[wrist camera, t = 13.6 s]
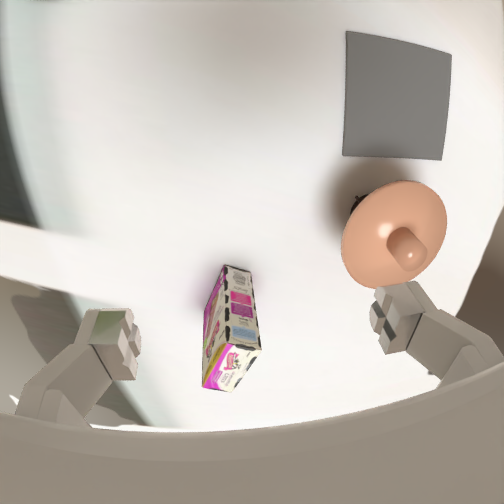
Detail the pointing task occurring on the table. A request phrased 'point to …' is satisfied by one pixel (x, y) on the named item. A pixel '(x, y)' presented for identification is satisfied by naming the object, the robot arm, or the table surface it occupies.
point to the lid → (393, 234)
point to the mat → (395, 98)
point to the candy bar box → (229, 331)
